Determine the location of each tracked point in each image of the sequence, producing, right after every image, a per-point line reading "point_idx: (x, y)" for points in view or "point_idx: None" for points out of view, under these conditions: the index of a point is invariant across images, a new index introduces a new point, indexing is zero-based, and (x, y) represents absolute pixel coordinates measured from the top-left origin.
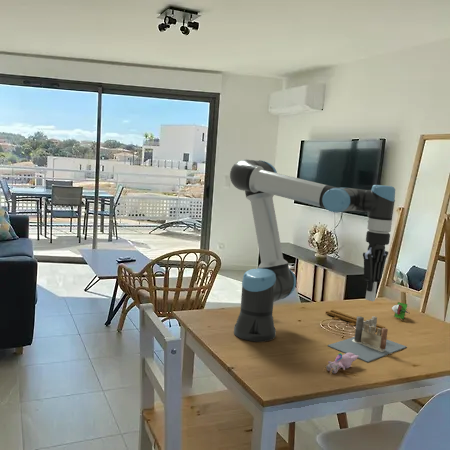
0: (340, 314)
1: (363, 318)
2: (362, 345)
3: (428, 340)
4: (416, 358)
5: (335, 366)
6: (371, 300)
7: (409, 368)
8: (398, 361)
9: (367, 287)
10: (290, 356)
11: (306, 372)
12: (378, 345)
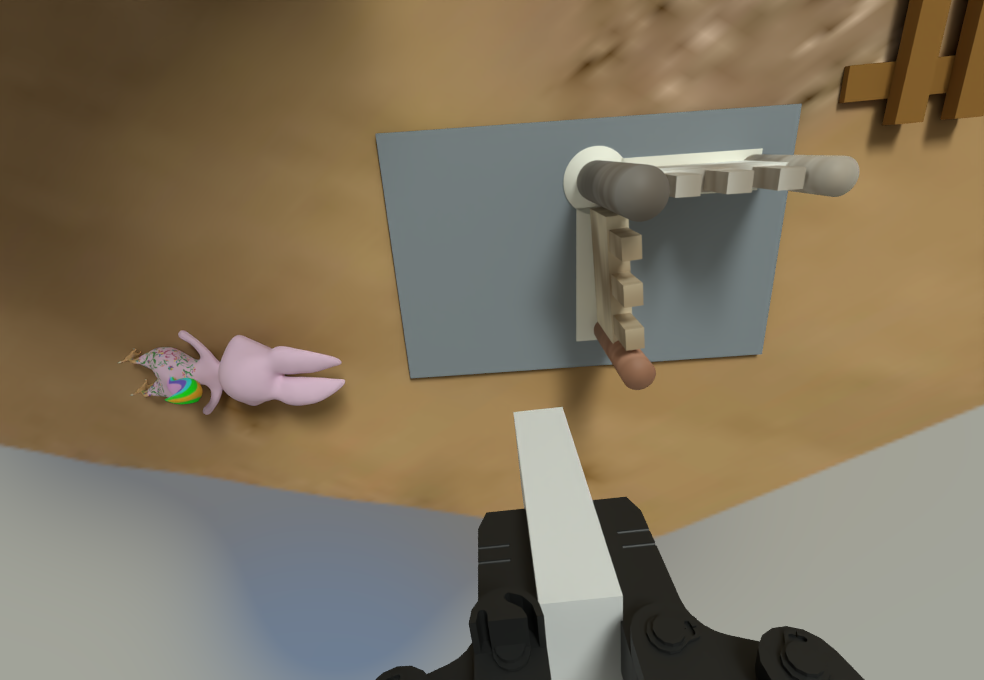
0: None
1: (644, 220)
2: (563, 237)
3: (966, 345)
4: (661, 441)
5: (163, 394)
6: (520, 477)
7: None
8: None
9: (479, 556)
10: (59, 141)
11: (51, 321)
12: (599, 314)
